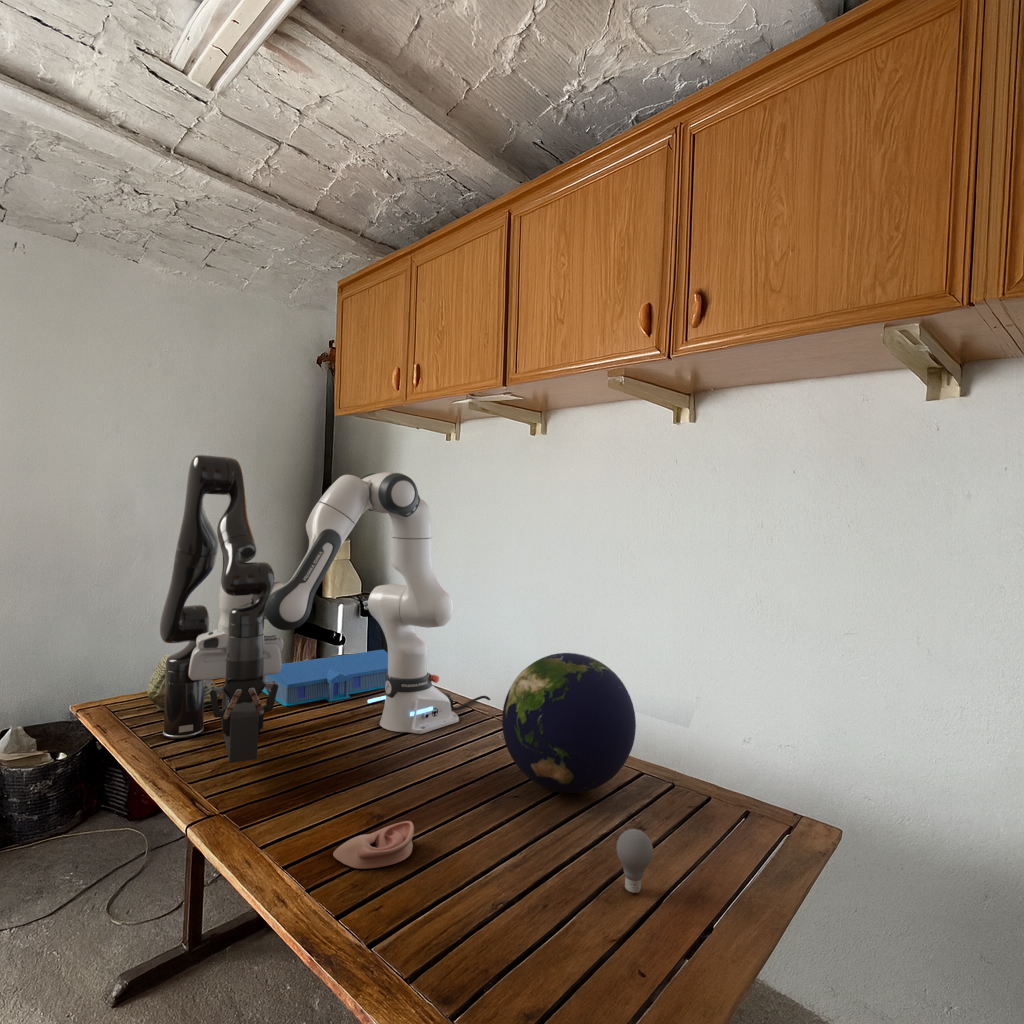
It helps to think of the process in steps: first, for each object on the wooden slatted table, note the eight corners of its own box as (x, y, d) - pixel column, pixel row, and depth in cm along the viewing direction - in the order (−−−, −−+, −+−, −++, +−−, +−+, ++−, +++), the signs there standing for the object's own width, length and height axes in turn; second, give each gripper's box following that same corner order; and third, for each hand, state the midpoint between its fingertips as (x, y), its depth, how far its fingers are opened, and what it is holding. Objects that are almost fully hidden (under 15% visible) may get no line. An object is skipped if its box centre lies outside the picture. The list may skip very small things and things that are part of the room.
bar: (257, 759, 135) (258, 715, 135) (229, 763, 132) (231, 718, 132) (245, 723, 155) (246, 685, 155) (221, 726, 152) (222, 687, 152)
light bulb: (610, 879, 108) (613, 822, 108) (644, 879, 109) (647, 822, 109) (619, 902, 102) (622, 840, 102) (655, 901, 103) (658, 840, 103)
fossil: (144, 707, 182) (145, 655, 182) (212, 696, 194) (213, 647, 194) (151, 716, 175) (153, 662, 175) (221, 703, 188) (223, 653, 188)
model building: (289, 709, 186) (291, 675, 185) (258, 688, 204) (259, 657, 204) (403, 687, 212) (405, 657, 212) (366, 670, 230) (368, 643, 230)
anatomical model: (325, 840, 109) (354, 809, 121) (324, 863, 109) (354, 830, 121) (397, 852, 107) (421, 819, 118) (396, 876, 107) (420, 840, 118)
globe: (477, 800, 135) (483, 660, 134) (527, 751, 163) (532, 634, 162) (615, 833, 124) (622, 681, 123) (643, 774, 151) (649, 649, 151)
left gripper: (278, 648, 143) (275, 723, 143) (207, 653, 136) (204, 731, 136) (283, 656, 136) (280, 734, 137) (209, 662, 129) (206, 744, 130)
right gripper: (281, 632, 158) (278, 687, 158) (189, 636, 148) (187, 695, 149) (285, 637, 153) (283, 694, 153) (190, 642, 143) (187, 703, 143)
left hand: (242, 732), depth 136 cm, fingers closed on bar, 5 cm apart
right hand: (235, 695), depth 151 cm, fingers open, 8 cm apart
